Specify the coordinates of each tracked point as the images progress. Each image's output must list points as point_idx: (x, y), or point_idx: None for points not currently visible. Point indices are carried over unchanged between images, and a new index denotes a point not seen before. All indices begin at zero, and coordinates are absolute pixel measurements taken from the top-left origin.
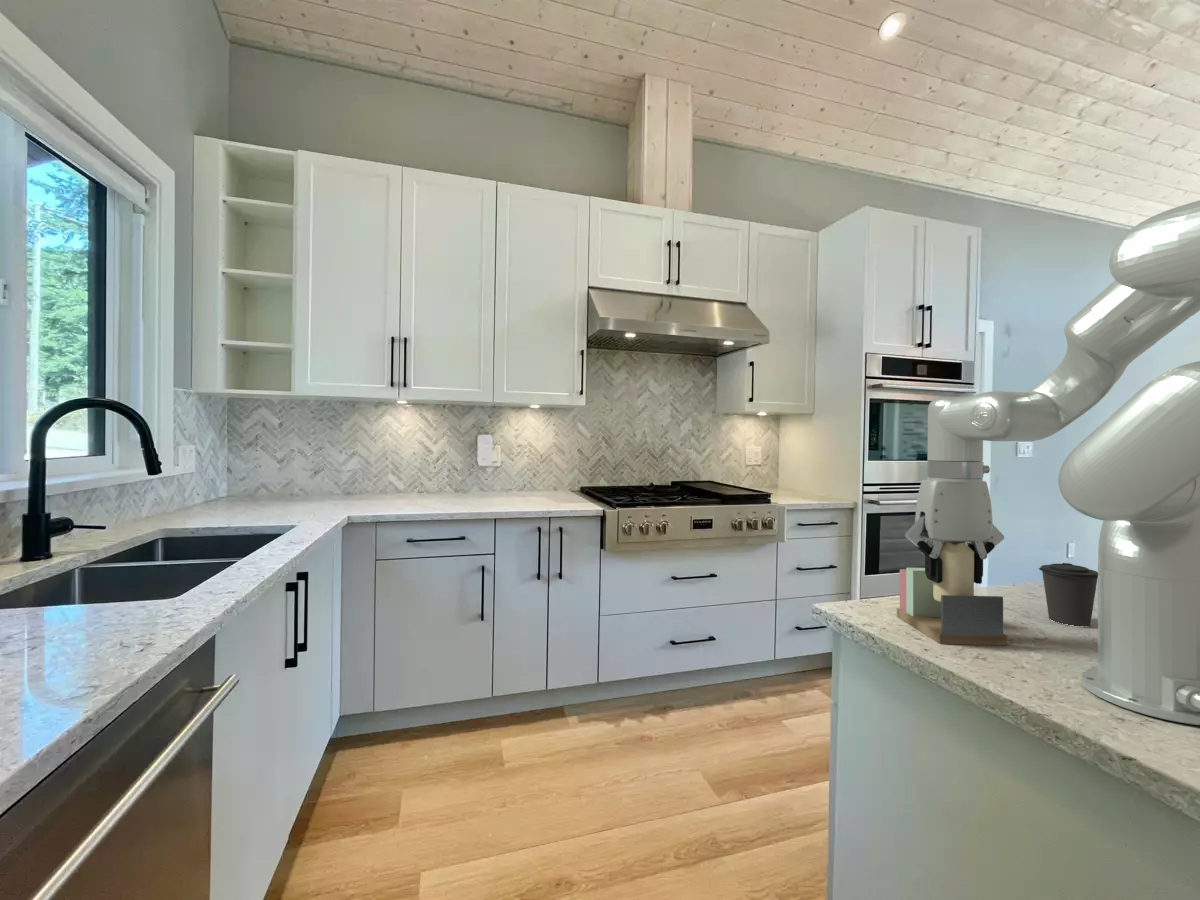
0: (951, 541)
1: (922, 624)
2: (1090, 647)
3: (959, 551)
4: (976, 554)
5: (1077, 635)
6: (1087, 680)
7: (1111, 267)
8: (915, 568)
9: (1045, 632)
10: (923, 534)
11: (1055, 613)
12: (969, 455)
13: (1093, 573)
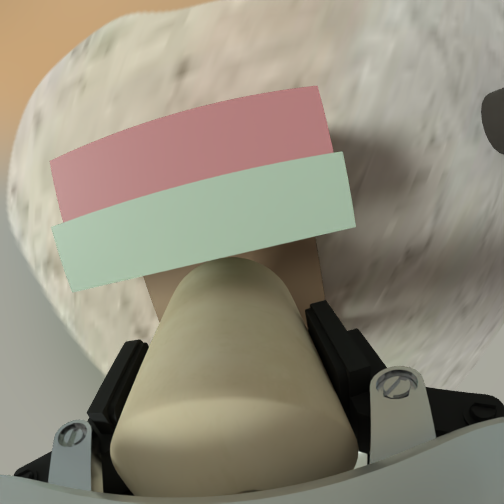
0: (246, 489)
1: (153, 300)
2: (462, 277)
3: None
4: (364, 452)
5: (481, 208)
6: None
7: None
8: (87, 234)
9: (445, 202)
10: (9, 485)
11: (496, 128)
12: None
13: None
